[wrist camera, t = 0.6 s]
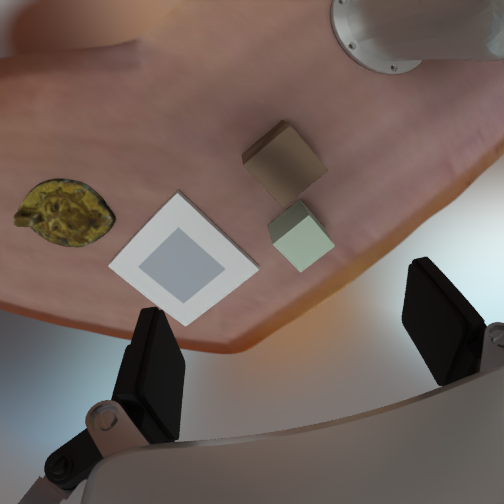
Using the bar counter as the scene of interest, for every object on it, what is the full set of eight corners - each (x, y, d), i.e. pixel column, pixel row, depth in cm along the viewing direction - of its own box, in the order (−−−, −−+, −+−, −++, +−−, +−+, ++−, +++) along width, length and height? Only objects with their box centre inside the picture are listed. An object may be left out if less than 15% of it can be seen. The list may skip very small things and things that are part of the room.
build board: (178, 190, 36) (177, 192, 35) (258, 265, 41) (259, 269, 41) (110, 262, 40) (108, 266, 39) (186, 322, 45) (185, 326, 45)
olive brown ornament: (117, 176, 36) (21, 178, 34) (104, 184, 32) (2, 185, 30) (119, 247, 39) (28, 242, 38) (108, 262, 35) (11, 255, 33)
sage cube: (299, 198, 37) (308, 215, 33) (323, 227, 39) (335, 245, 35) (267, 225, 39) (272, 244, 35) (293, 251, 41) (300, 272, 37)
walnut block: (282, 119, 33) (290, 124, 28) (316, 159, 35) (328, 170, 31) (241, 154, 35) (243, 165, 30) (276, 191, 37) (282, 207, 33)
